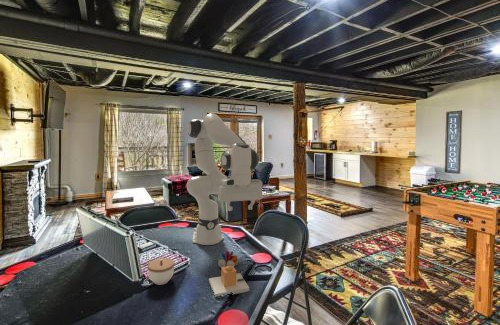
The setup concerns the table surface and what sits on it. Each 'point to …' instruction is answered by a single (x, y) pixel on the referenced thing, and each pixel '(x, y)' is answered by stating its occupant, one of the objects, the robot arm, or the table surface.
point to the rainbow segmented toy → (227, 259)
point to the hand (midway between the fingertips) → (240, 210)
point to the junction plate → (220, 289)
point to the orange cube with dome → (228, 276)
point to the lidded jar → (161, 270)
